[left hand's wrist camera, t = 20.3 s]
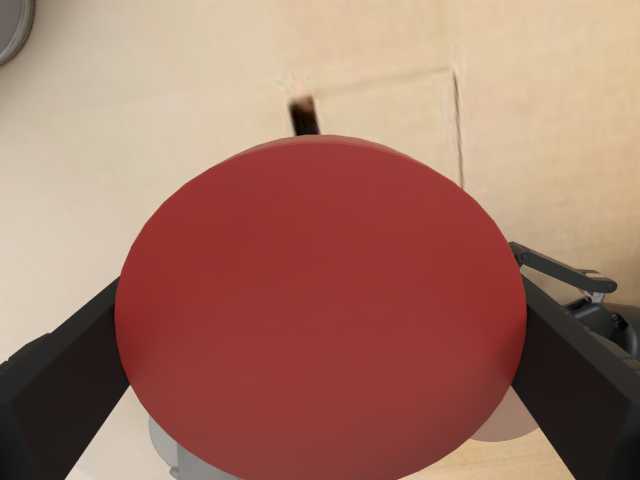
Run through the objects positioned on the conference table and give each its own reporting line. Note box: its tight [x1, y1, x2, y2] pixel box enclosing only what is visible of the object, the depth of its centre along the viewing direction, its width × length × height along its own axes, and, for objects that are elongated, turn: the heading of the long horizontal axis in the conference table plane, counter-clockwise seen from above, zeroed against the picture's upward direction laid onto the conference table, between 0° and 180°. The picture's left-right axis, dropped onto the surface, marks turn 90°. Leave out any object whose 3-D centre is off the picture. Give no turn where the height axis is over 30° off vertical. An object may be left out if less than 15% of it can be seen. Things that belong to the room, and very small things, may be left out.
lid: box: [114, 135, 527, 480], centre depth 11 cm, size 11×11×2 cm
